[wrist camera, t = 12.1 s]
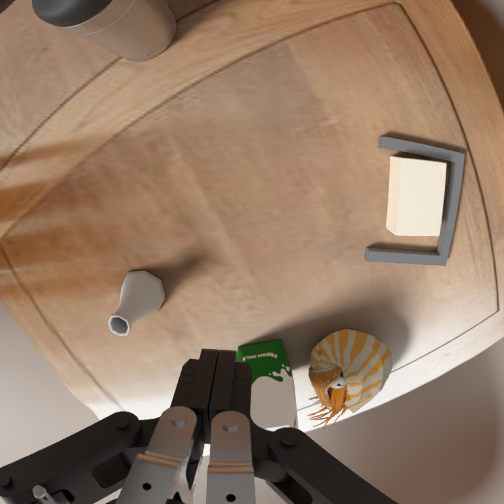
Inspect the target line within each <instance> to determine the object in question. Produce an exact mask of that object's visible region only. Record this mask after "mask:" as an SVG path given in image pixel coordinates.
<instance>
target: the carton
mask: <svg viewBox="0 0 504 504" xmlns="http://www.w3.org/2000/svg"><path fill="white" fill-rule="evenodd" d="M445 178H446V163H442V162H437V161H431V160H423V159H414V158H404V157H393V156H391V158H390V181H389V197H388V210H387V221H386V228H387V229H388V230H389V231H391V232H392V233H393V234H395V235H402V236H439V234H440V227H441V219H442V211H443V202H444V191H445Z"/></svg>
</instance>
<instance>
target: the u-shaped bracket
mask: <svg viewBox="0 0 504 504" xmlns="http://www.w3.org/2000/svg"><path fill="white" fill-rule="evenodd" d="M379 148H385V149H391V150H397V151H403V152H408V153H413V154H418V155H423V156H428V157H433V158H438V159H442V160H447V161H451V164H450V173H449V181H448V188H447V195H446V202H445V208H444V214H443V220H442V225H441V230H440V235H439V240H438V245H437V249H436V253H435V252H422V251H408V250H394V249H380V248H366V251H365V257H364V258H365V259H366V260H367V261H369V262H387V263H404V264H422V265H440V266H446V262H447V258H448V254H449V250H450V245H451V241H452V236H453V231H454V226H455V221H456V215H457V210H458V204H459V197H460V190H461V183H462V176H463V167H464V157H465V154H462V153H458V152H454V151H450V150H446V149H442V148H438V147H434V146H429V145H424V144H420V143H415V142H410V141H405V140H400V139H394V138H389V137H379Z"/></svg>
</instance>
